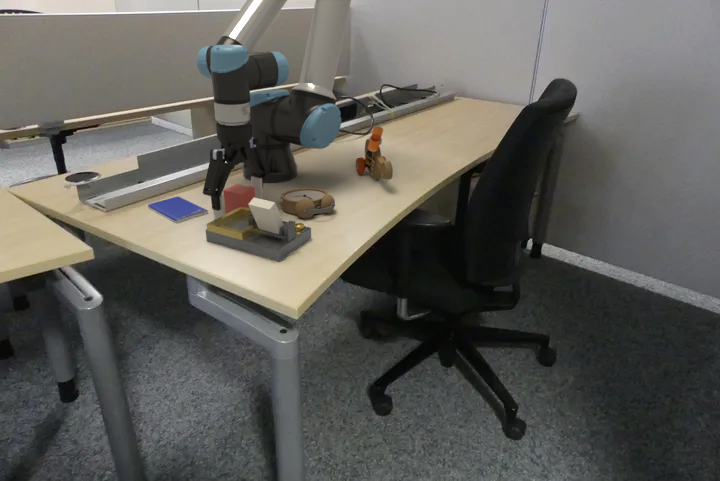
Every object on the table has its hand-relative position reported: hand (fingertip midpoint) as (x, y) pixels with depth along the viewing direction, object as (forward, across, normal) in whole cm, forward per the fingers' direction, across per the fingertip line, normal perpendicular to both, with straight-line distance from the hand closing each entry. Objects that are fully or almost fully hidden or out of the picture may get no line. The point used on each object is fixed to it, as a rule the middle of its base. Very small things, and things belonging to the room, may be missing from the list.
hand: (239, 212), depth 121 cm
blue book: (+1, -6, +13) cm, 15 cm away
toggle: (-4, -10, -16) cm, 20 cm away
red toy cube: (0, 0, 0) cm, 0 cm away
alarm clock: (+1, +10, -13) cm, 16 cm away
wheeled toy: (0, +38, -17) cm, 42 cm away
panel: (0, -9, -12) cm, 16 cm away
